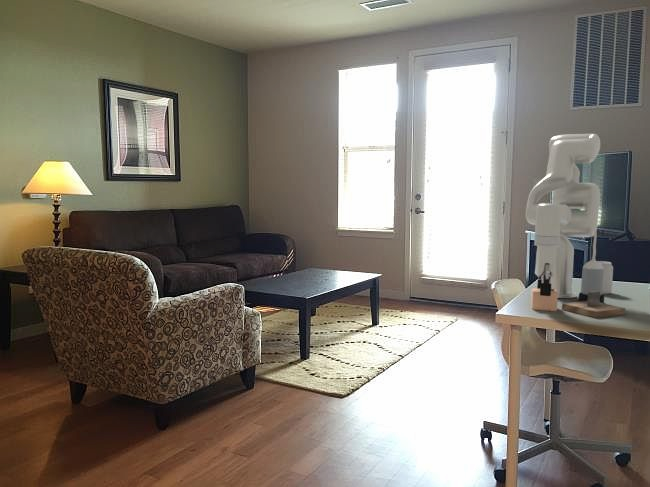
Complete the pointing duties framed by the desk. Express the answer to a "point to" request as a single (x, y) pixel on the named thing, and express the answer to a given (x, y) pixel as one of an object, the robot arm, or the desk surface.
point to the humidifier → (592, 276)
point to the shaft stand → (593, 307)
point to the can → (607, 277)
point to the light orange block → (544, 300)
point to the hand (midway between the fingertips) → (543, 293)
